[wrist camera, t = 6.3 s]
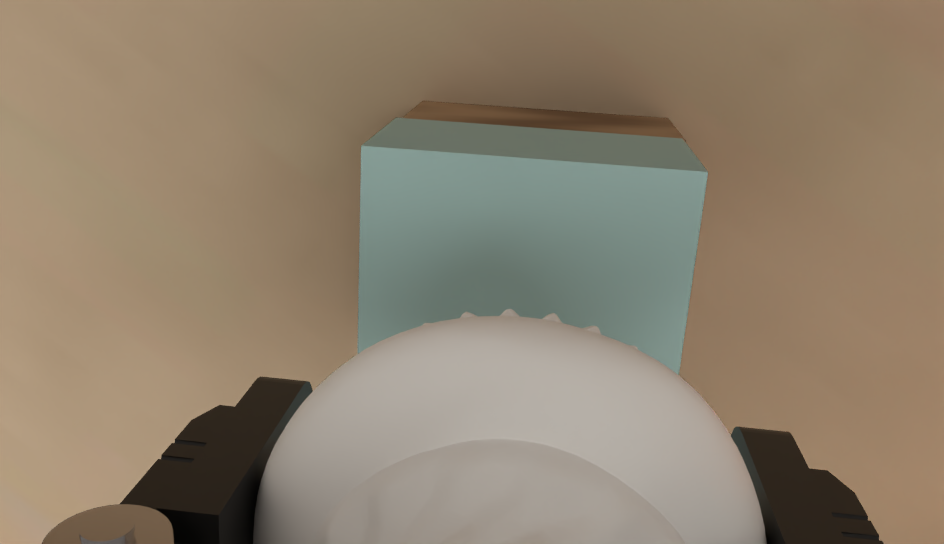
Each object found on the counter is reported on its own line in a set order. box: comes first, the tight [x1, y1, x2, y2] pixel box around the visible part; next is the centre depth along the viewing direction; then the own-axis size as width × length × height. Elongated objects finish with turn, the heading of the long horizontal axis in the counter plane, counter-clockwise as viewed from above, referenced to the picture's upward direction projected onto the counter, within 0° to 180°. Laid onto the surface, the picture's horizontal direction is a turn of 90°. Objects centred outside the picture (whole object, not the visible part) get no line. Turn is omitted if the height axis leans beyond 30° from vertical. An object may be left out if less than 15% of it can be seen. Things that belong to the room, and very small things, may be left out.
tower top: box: [358, 118, 708, 375], centre depth 21 cm, size 7×7×4 cm
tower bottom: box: [403, 101, 686, 143], centre depth 25 cm, size 7×7×4 cm
